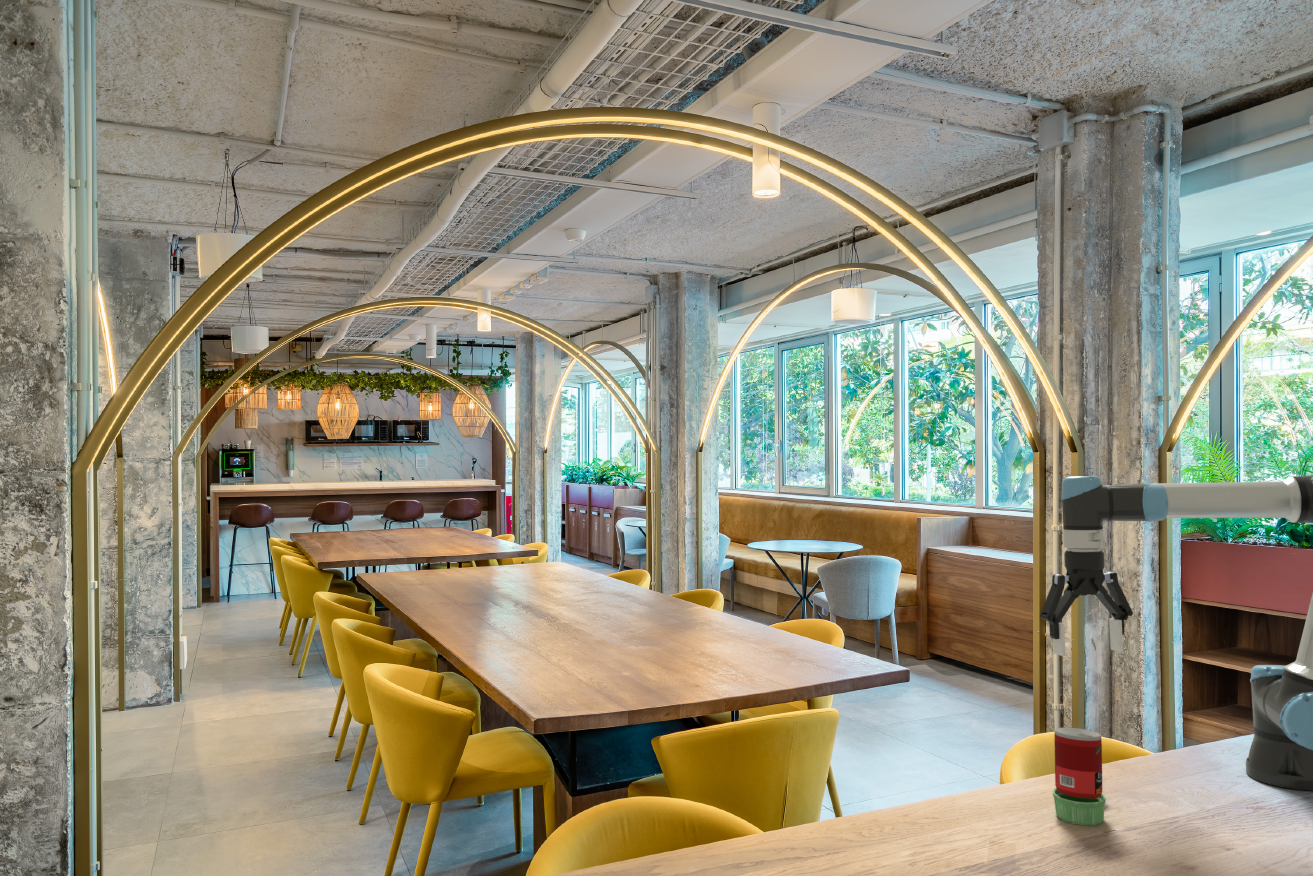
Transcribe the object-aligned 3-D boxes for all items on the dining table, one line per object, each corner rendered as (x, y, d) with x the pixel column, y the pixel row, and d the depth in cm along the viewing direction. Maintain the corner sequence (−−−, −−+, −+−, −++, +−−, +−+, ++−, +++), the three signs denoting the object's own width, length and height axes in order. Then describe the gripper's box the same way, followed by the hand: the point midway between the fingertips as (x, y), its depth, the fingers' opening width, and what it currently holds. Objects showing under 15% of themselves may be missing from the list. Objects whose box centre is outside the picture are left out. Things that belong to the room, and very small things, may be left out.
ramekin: (1053, 823, 163) (1052, 799, 163) (1053, 806, 171) (1052, 783, 171) (1107, 830, 159) (1106, 805, 159) (1105, 813, 167) (1104, 789, 168)
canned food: (1106, 801, 161) (1105, 738, 162) (1059, 796, 163) (1058, 734, 164) (1097, 789, 168) (1096, 729, 169) (1052, 784, 170) (1051, 725, 171)
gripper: (1042, 553, 179) (1046, 659, 178) (1148, 549, 184) (1153, 652, 183) (1019, 550, 186) (1023, 652, 185) (1122, 546, 192) (1127, 645, 191)
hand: (1088, 652), depth 184 cm, fingers open, 13 cm apart
